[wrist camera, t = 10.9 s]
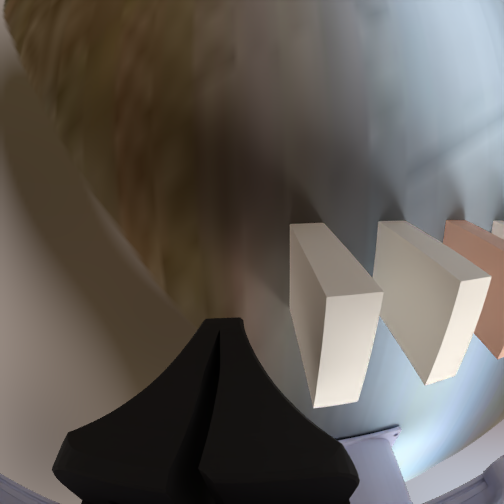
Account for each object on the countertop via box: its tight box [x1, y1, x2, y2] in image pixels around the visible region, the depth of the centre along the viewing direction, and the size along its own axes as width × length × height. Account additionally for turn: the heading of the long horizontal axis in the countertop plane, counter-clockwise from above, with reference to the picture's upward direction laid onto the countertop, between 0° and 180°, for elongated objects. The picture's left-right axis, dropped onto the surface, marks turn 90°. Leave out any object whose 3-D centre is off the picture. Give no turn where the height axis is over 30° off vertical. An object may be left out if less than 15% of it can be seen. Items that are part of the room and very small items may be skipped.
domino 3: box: [443, 220, 504, 359], centre depth 12 cm, size 2×5×8 cm, turn 2°
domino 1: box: [289, 223, 384, 408], centre depth 12 cm, size 2×5×8 cm, turn 3°
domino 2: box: [372, 221, 492, 385], centre depth 12 cm, size 2×5×8 cm, turn 3°
